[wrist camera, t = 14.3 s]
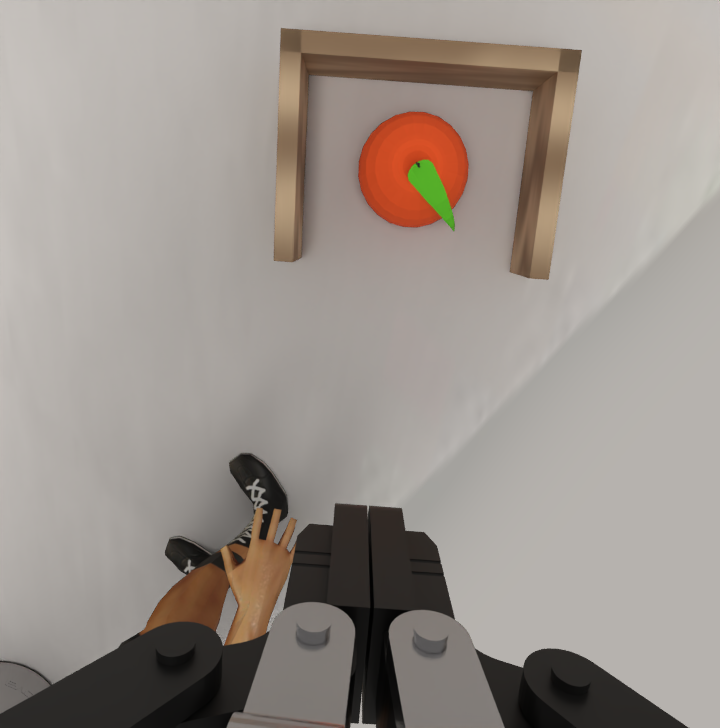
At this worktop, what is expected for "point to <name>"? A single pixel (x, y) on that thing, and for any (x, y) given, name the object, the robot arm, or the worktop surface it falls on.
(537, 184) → the bay
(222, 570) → the figurine
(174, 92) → the worktop surface
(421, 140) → the clementine
